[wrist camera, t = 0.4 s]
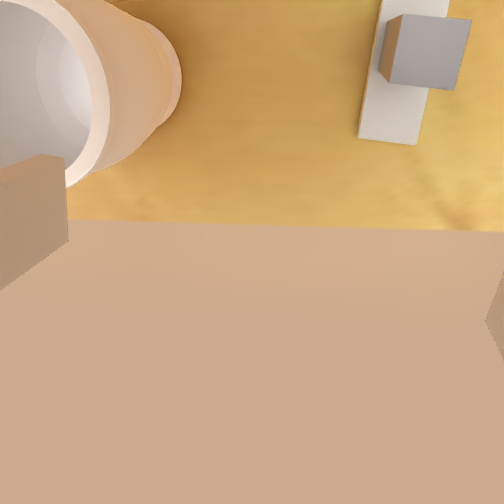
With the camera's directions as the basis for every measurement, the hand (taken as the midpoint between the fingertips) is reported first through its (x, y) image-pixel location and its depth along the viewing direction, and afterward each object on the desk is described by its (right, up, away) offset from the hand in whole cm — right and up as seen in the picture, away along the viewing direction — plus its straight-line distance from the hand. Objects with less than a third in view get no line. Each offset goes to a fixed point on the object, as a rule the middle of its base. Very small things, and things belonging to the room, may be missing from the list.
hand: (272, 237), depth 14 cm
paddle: (+10, +14, +20) cm, 26 cm away
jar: (-10, +13, +24) cm, 29 cm away
